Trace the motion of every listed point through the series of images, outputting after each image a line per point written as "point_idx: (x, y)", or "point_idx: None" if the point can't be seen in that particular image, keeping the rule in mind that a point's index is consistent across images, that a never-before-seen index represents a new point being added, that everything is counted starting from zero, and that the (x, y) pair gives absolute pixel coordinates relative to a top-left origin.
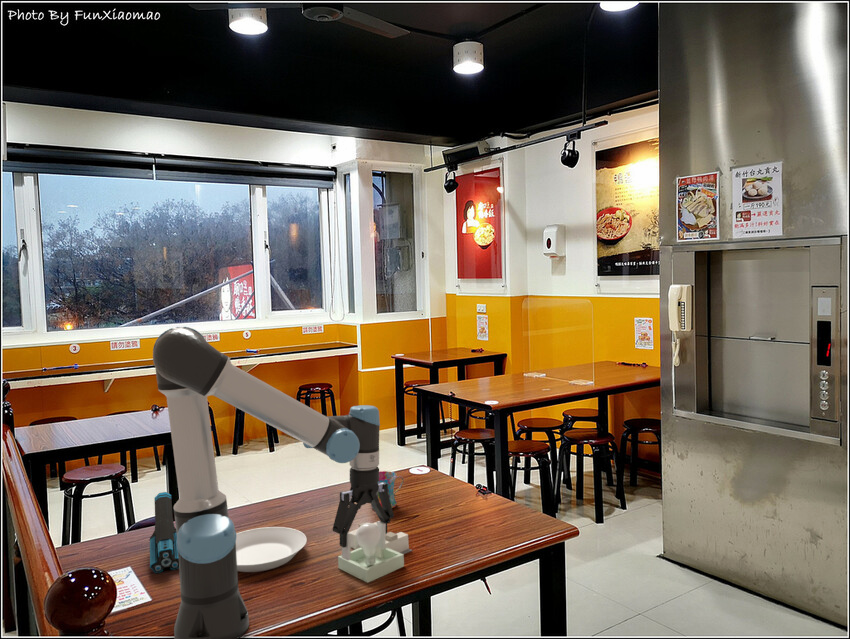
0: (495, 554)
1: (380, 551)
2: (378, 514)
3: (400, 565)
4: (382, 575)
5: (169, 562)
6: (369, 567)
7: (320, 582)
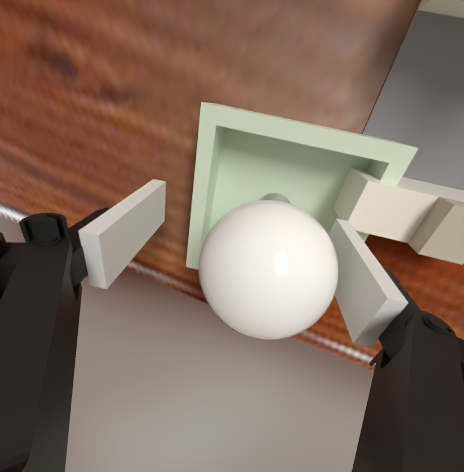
0: None
1: (340, 217)
2: (391, 376)
3: None
4: None
5: None
6: None
7: (114, 127)
